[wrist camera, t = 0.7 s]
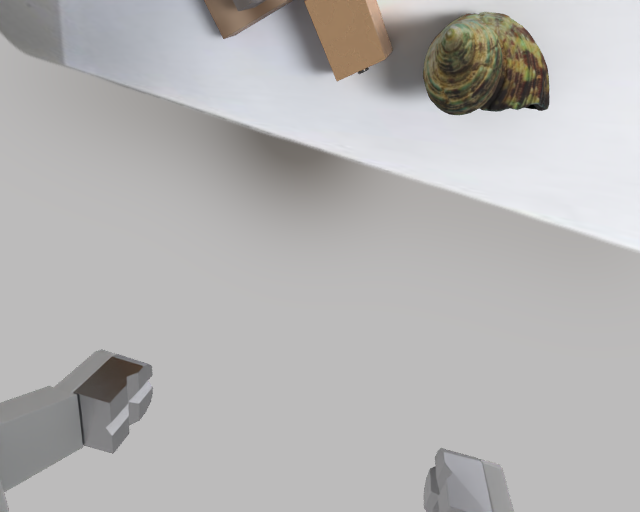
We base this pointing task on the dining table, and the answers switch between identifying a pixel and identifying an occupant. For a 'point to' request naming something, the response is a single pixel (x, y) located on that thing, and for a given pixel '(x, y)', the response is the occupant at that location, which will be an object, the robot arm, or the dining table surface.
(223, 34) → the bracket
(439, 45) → the seashell
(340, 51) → the slotted cardboard block
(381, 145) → the dining table surface
